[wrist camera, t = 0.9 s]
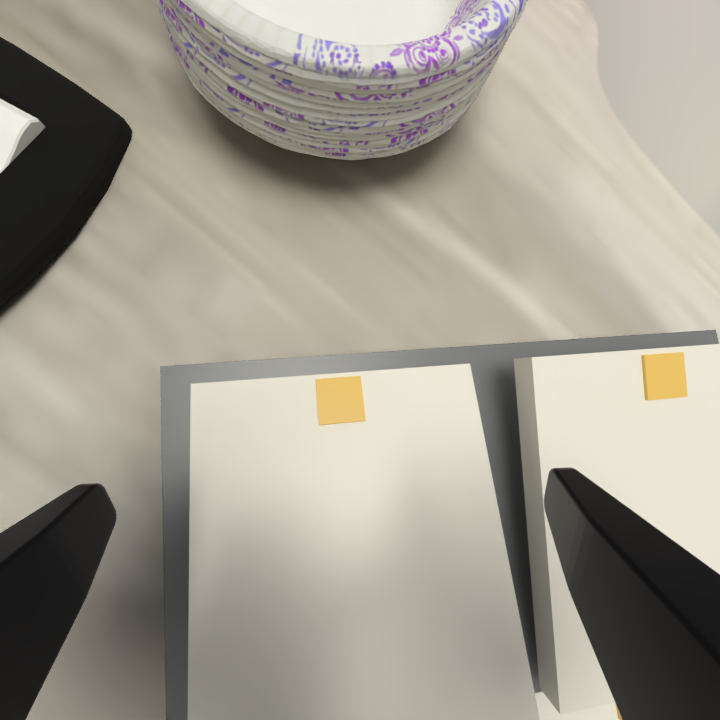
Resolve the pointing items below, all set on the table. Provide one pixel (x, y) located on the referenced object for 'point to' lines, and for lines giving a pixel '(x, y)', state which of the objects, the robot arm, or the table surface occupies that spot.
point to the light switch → (48, 163)
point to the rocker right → (615, 475)
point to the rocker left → (349, 553)
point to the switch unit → (486, 363)
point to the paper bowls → (340, 67)
